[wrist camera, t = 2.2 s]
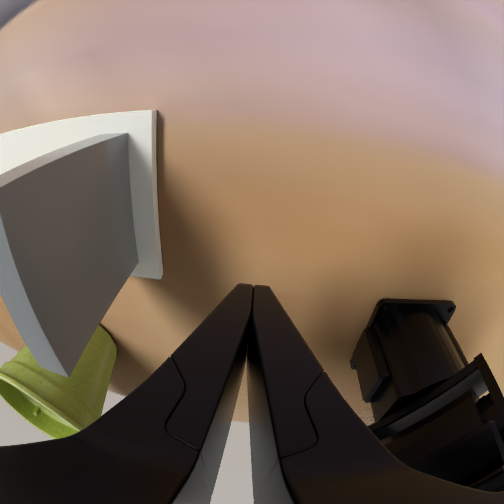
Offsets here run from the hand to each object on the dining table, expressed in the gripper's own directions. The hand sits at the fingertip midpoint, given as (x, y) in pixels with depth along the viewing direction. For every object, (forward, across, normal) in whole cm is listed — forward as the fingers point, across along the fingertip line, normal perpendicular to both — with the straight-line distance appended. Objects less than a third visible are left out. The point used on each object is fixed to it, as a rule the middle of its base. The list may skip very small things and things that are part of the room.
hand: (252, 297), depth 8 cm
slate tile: (+6, +7, 0) cm, 9 cm away
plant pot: (+7, +13, +12) cm, 19 cm away
